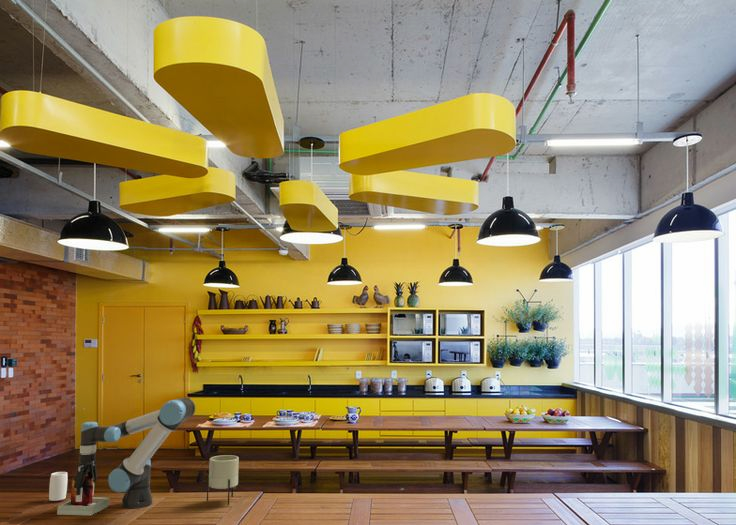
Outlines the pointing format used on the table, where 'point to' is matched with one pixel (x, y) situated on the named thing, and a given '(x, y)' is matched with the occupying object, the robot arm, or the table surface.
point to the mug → (83, 492)
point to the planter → (223, 473)
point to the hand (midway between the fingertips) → (84, 498)
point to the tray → (83, 507)
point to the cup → (58, 486)
